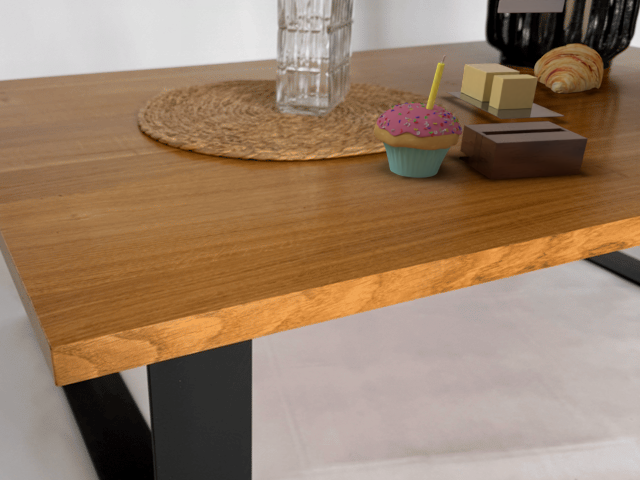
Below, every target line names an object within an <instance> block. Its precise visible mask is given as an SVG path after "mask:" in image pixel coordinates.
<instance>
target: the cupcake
mask: <svg viewBox="0 0 640 480" xmlns="http://www.w3.org/2000/svg"><path fill="white" fill-rule="evenodd" d="M446 57H447V54H444V55H443V56H442V58H441V61H440V62H438V63H437V66H436V70H435V72H434V73H435V74H434V76H433V81H432V84H431V88H430V92H429V96H428V100H427V103H424V102H414V101H412V102H410V103H408V102H404V103H399V102H398V103H397V104H395V105H392V106H391V107H390V108H389V109H386V110H384V111H383V113H381V114H380V115H379V116H378V118H377V120H376V123H375V125H374V129H373V135H374V137H375V138H376V140H378V141H379V142H382V143H383V146H384V150H385V152H386V157H387V161H388V166H389V171H391V172H392V173H393V174H395V175H399V176H402V177H407V178H415V179H416V178H417V179H419V178H420V179H422V178H430V177H433V176H436V175H437V174H438V172H439V170H440V167H441V165H442V164H443V161H444V159H445V158H446V156H447V154H448V153H449V151H450V150H451V147H453V146H454V147H455V146H456V145H457V144H458V142H459V138H460V136H461V135H463V126H461V124H460V122H459V119H458V118H457V116H455V115H453V112H451V111H450V110H447V108H446V107H445V108H444V107H442V106H441V105H440V104H437V103H435V102H436V98H437V96H438V91H439V87H440V85H441V80H442V78H443V77H442V76H443V73H444V70H445V66H446V63H444V62H445V60H446Z"/></svg>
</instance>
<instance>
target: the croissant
mask: <svg viewBox="0 0 640 480" xmlns="http://www.w3.org/2000/svg"><path fill="white" fill-rule="evenodd" d="M533 70H534V71H533V76H534V77H537V78H538V80H537V83H541V84H543V85H545V87H546V88H549V89H550V90H551V91H552V92H554V93H556V94H572V93H581V92H584V91H589V90H592V89H594V88H595V89H600V87H601V86H602V85H601V84H602V81H603V77H604V71H605V70H604V62H603V58H602V57H601V55H600V53H598V52H597V51H596V50H595V49H593V48H592V47H589V46H588V45H587V44H583V43H577V42H576V43H567V44H566V45H563V46H559V47H555V48H552V49H551V50H549V51H548V52H546V53H545V54H544V55H543V56H541V58H539V59H538V60H537V61H536V63H535V65H534V69H533Z"/></svg>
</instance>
